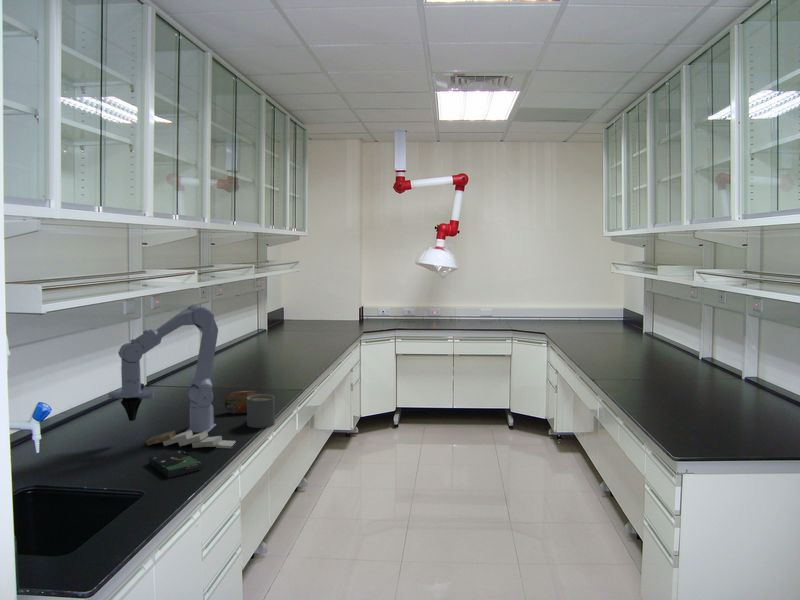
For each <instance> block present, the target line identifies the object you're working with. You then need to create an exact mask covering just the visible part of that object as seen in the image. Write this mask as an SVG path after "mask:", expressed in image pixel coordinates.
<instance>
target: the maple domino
mask: <svg viewBox="0 0 800 600" xmlns="http://www.w3.org/2000/svg"><path fill="white" fill-rule="evenodd" d="M175 435H177V433H176V429H174V430H171V431H168V432H164V433H160V434H156V435H152V436H151V437H150V438H149V439H147V440H146V441H145V442H146V446H151V445H154V444H159V443H163V441H166V440H170V439H172V438H173V437H174V436H175Z"/></svg>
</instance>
